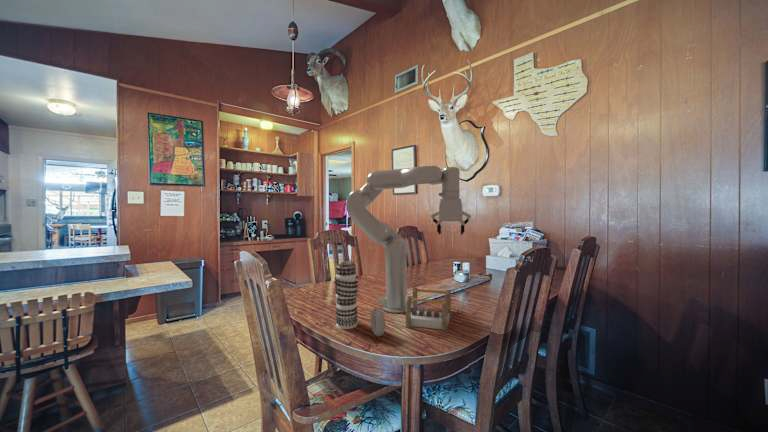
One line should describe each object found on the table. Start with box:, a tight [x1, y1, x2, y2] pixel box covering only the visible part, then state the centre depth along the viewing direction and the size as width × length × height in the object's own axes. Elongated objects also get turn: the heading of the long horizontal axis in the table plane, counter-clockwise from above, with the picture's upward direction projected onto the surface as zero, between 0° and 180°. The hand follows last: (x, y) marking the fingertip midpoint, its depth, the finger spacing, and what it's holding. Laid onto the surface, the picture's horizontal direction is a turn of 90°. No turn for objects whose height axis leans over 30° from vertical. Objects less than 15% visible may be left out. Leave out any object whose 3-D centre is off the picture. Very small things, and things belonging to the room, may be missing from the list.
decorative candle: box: [334, 260, 359, 330], centre depth 121 cm, size 9×9×25 cm
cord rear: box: [417, 288, 446, 295], centre depth 128 cm, size 13×1×1 cm, turn 73°
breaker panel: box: [411, 307, 450, 330], centre depth 122 cm, size 15×10×5 cm, turn 73°
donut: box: [370, 307, 386, 337], centre depth 111 cm, size 10×4×10 cm, turn 19°
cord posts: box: [405, 286, 452, 333], centre depth 122 cm, size 16×15×12 cm
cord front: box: [410, 297, 443, 304], centre depth 116 cm, size 13×1×1 cm, turn 73°
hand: (450, 234), depth 136 cm, fingers open, 9 cm apart
